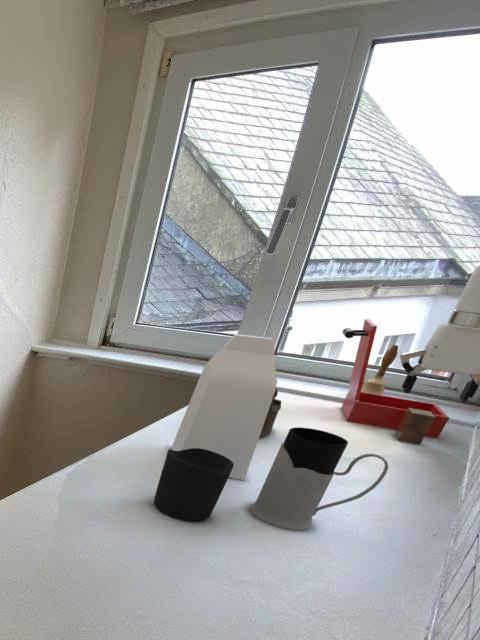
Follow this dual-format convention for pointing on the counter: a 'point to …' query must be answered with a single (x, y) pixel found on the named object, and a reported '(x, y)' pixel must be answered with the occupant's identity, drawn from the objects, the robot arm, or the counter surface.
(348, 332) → the lid
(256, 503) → the glass holder
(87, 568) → the counter surface
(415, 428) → the block
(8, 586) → the counter surface
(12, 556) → the counter surface
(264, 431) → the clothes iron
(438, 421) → the red shallow rectangular box
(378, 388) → the hand bell
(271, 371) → the milk
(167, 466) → the pen holder
